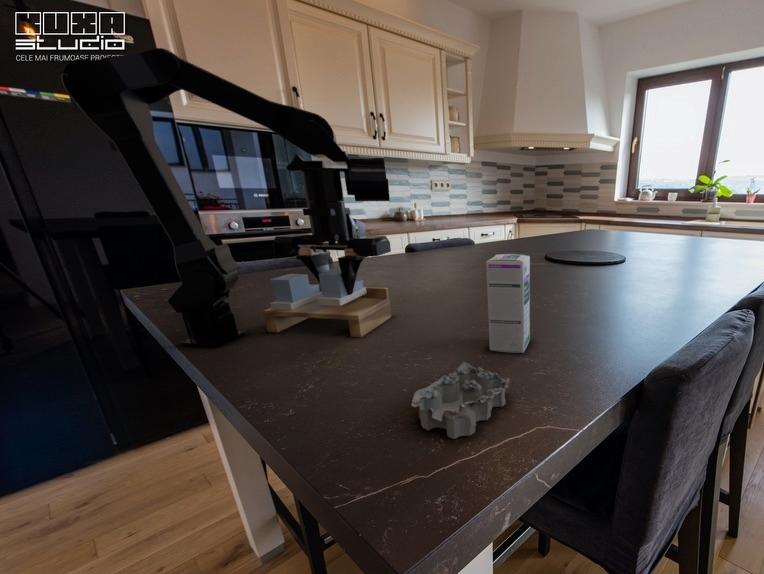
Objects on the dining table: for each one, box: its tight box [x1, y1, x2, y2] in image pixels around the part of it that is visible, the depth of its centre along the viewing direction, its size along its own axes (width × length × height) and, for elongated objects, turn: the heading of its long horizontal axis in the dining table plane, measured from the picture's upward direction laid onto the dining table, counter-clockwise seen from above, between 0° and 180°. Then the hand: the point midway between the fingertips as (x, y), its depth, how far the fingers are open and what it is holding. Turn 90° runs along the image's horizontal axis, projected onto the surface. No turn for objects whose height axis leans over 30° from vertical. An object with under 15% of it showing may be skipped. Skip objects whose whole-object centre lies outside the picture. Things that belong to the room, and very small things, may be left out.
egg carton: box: [411, 361, 511, 440], centre depth 45 cm, size 11×8×4 cm
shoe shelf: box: [262, 284, 392, 338], centre depth 74 cm, size 18×12×6 cm, turn 81°
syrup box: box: [485, 253, 531, 354], centre depth 62 cm, size 6×6×14 cm
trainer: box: [318, 268, 367, 306], centre depth 71 cm, size 9×4×5 cm, turn 171°
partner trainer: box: [269, 273, 322, 310], centre depth 73 cm, size 9×4×5 cm, turn 171°
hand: (340, 293), depth 71 cm, fingers closed on trainer, 3 cm apart
